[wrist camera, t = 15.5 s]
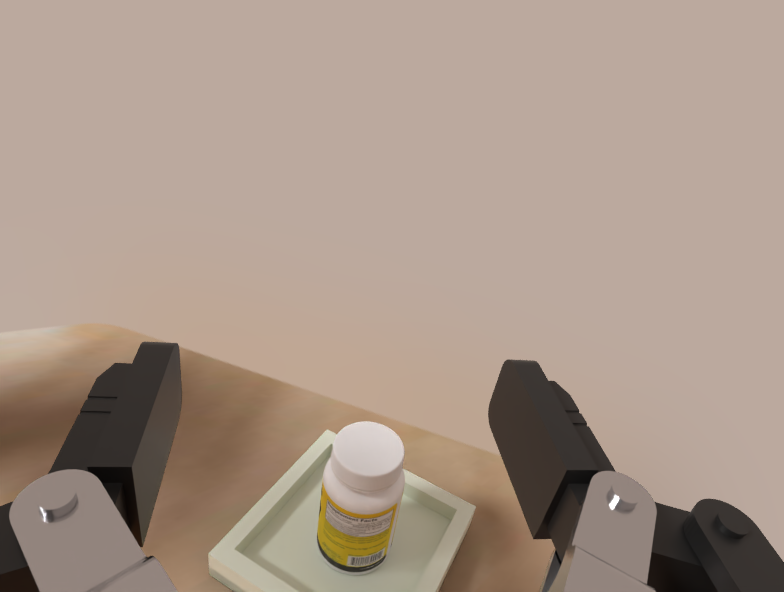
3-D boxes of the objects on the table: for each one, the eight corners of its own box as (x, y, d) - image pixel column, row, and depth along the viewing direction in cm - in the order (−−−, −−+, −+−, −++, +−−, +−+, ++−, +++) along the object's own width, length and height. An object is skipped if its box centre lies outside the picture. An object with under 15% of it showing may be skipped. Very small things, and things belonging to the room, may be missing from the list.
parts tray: (209, 574, 31) (208, 553, 30) (325, 448, 41) (327, 429, 40) (387, 698, 27) (393, 678, 26) (469, 525, 36) (476, 506, 35)
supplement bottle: (343, 497, 36) (356, 404, 32) (404, 532, 34) (426, 439, 30) (299, 551, 32) (308, 453, 28) (365, 593, 31) (385, 496, 26)
